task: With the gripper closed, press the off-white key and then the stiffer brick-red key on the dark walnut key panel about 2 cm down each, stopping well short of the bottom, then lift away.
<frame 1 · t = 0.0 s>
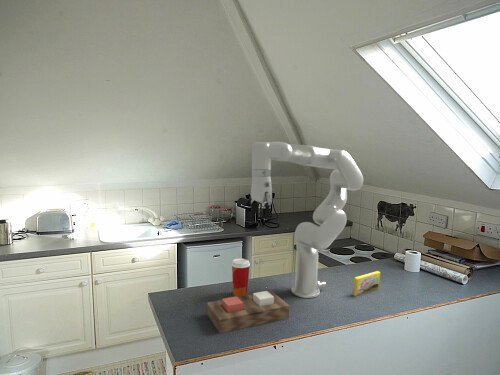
hand: (260, 215, 146), 37 cm above the counter, tool pointing down, fingers open, 9 cm apart
candy box: (366, 292, 164), on the counter
white key: (263, 298, 141), point 6 cm above the counter, slide at 0.0 cm
red key: (232, 304, 135), point 6 cm above the counter, slide at 0.0 cm
coffee cup: (239, 294, 158), on the counter
panel: (247, 316, 139), on the counter
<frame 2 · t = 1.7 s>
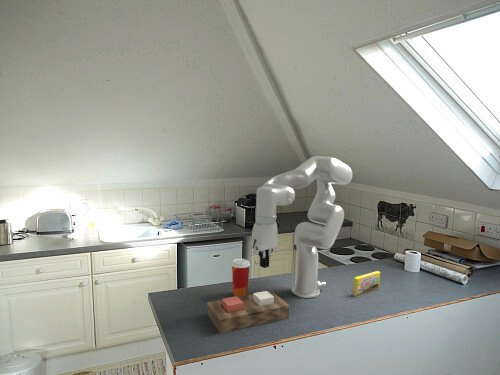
hand: (264, 266, 139), 19 cm above the counter, tool pointing down, fingers closed
nothing on the counter moved.
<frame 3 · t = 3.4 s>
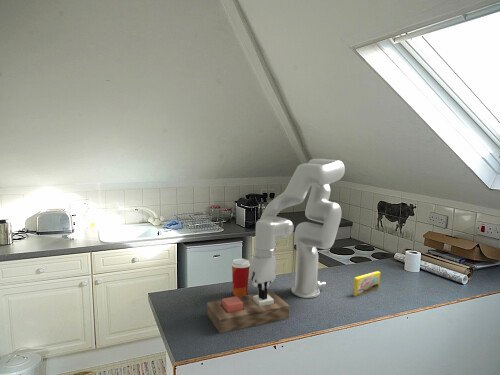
hand: (262, 297, 140), 6 cm above the counter, tool pointing down, fingers closed
white key: (263, 301, 141), point 5 cm above the counter, slide at 1.1 cm, touching gripper
everything else where it was.
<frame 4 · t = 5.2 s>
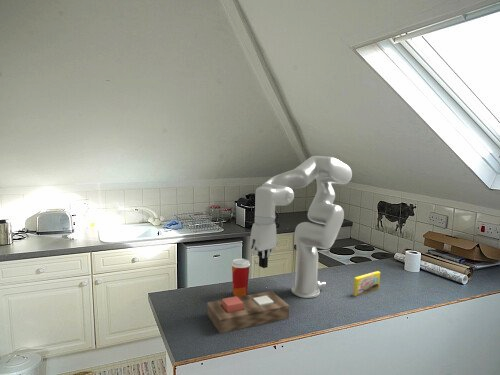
hand: (263, 266, 139), 19 cm above the counter, tool pointing down, fingers closed
white key: (263, 303, 141), point 4 cm above the counter, slide at 2.0 cm
everything else where it was.
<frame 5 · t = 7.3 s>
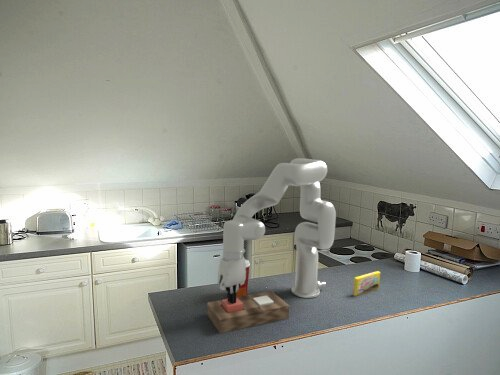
hand: (231, 301, 135), 7 cm above the counter, tool pointing down, fingers closed
red key: (232, 305, 135), point 6 cm above the counter, slide at 0.4 cm, touching gripper
everything else where it was.
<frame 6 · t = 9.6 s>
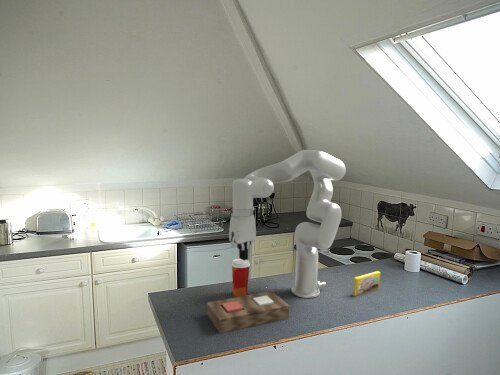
hand: (243, 258, 139), 22 cm above the counter, tool pointing down, fingers closed
red key: (232, 309, 136), point 4 cm above the counter, slide at 1.9 cm
everything else where it was.
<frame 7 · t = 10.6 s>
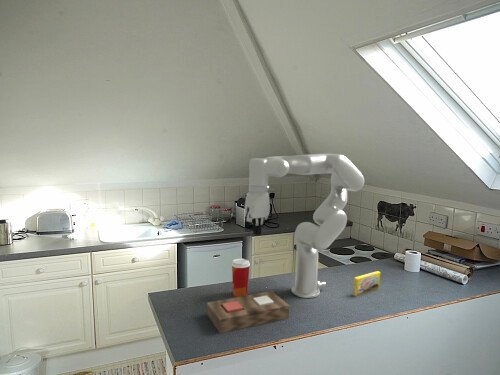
hand: (257, 234, 147), 29 cm above the counter, tool pointing down, fingers closed
nothing on the counter moved.
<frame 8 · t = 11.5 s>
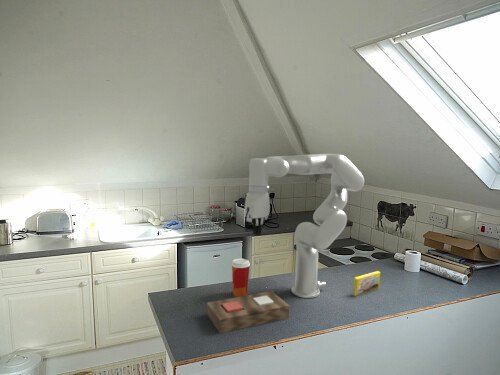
hand: (257, 234, 147), 29 cm above the counter, tool pointing down, fingers closed
nothing on the counter moved.
at the end: white key slide at 2.0 cm; red key slide at 1.9 cm; coffee cup moved 0.2 cm from its start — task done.
